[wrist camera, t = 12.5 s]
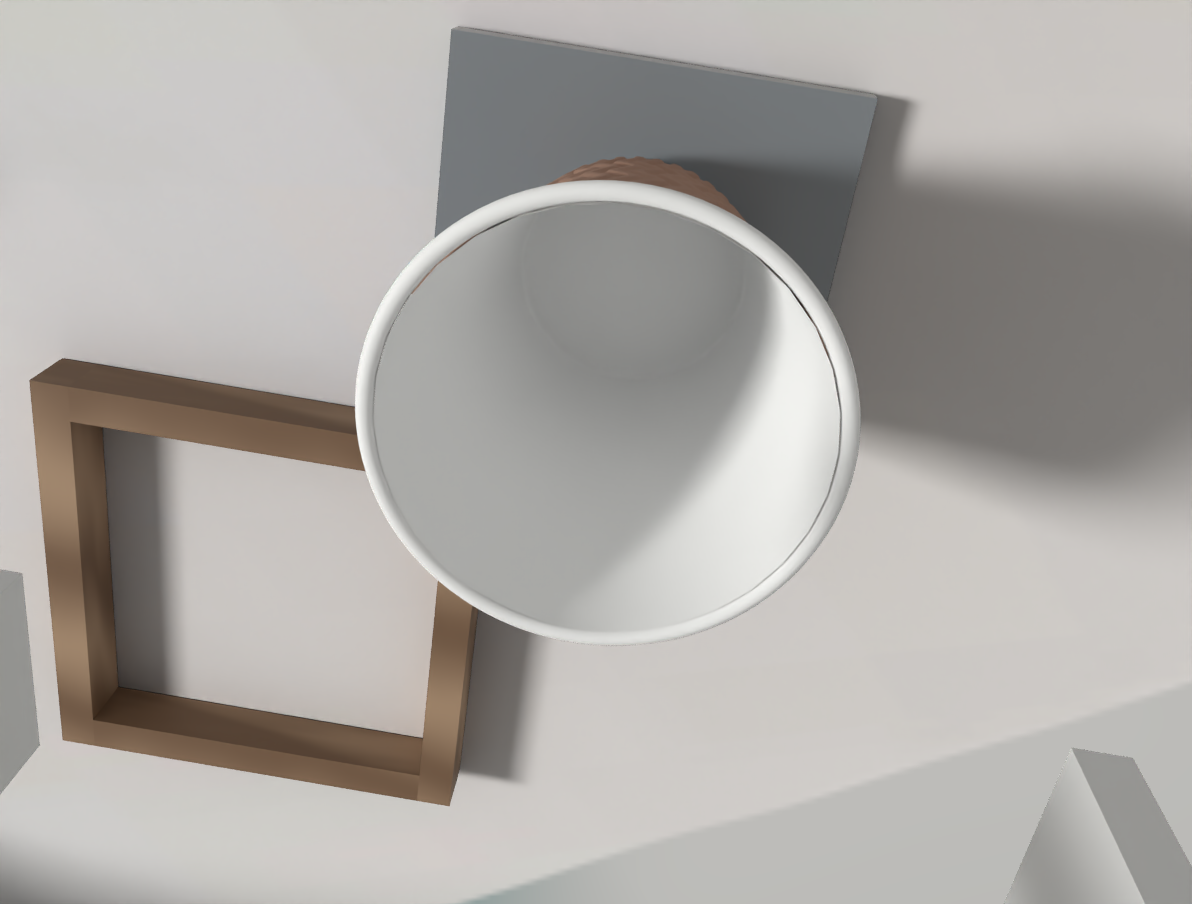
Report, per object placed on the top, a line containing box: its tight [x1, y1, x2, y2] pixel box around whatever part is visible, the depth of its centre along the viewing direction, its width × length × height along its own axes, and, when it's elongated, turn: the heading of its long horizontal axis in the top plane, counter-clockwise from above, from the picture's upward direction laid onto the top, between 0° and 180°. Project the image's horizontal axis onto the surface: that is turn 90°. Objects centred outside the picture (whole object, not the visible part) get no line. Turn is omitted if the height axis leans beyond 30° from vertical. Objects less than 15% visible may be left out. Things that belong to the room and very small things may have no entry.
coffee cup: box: [355, 156, 861, 646], centre depth 27 cm, size 10×10×12 cm
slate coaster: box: [435, 26, 878, 302], centre depth 33 cm, size 12×12×1 cm
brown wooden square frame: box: [29, 359, 478, 806], centre depth 39 cm, size 15×15×2 cm
